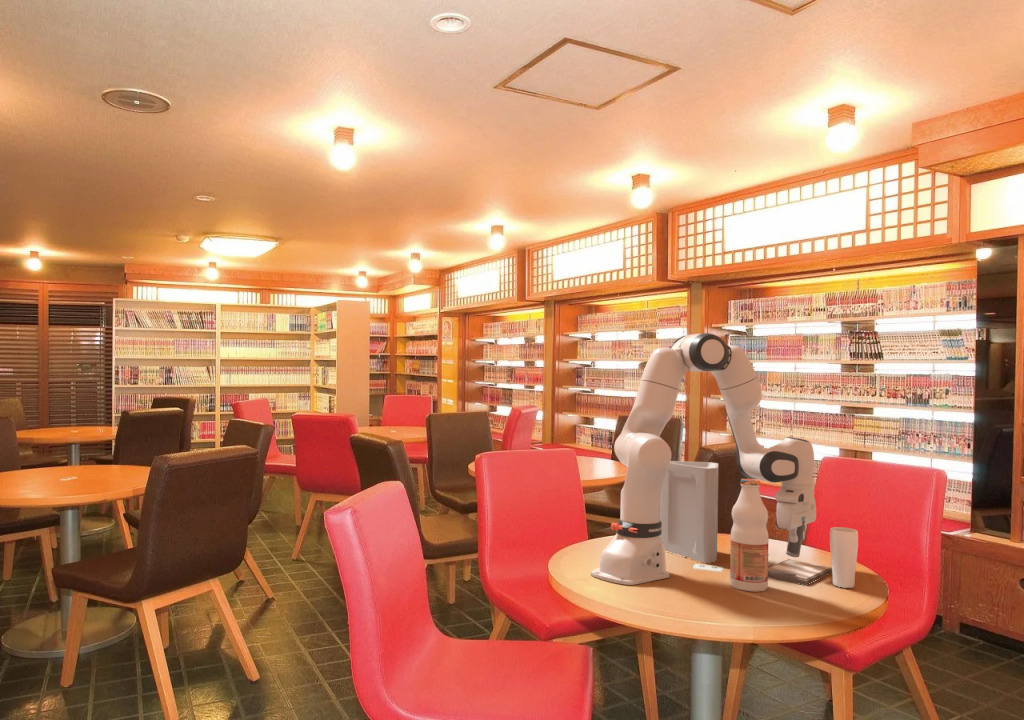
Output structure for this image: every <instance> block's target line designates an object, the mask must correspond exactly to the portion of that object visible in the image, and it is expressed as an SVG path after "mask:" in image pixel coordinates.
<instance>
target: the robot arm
mask: <svg viewBox="0 0 1024 720" xmlns="http://www.w3.org/2000/svg"><path fill="white" fill-rule="evenodd" d="M644 367H645V368H644V369H643V372H642V375H641V378H640V382H639V385H638V388H637V392H636V396H635V400H634V403H633V405H632V408H631V410H630V414H629V416H628V417H627V419H626V420H625V421H626V422H625V423H624V426H623V428H622V431H620V434H619V436H618V437H617V438H616V439H615V441H614V445H613V451H614V454H615V456H616V457H617V459H618V460H619V461H620V463H621V464H622V465H624V466H626V468H627V469H626V475H625V480H624V484H623V486H622V489H621V490H620V512H619V513H620V518H619V519H618V521H617V523H615V522H612V523H611V524H610V529H611V530H612V531H615V532H616V534H615V535H614V537H612V539H611V540H610V541H609V543H608V544H607V546H606V547H604V549H603V550H602V552H601V554H600V560H599V566H598V567H596V568H595V569H593V570H591V571H590V575H591V576H593V577H594V578H596V579H600V580H603V581H606V582H610V583H615V584H620V585H627V586H634V585H638V584H644V583H645V584H646V583H649V582H654V581H657V580H663V579H668V578H670V572H669V571H667V568H666V567H667V566H666V565H667V564H666V563H667V562H666V552H665V548H664V545H663V543H662V541H661V538H660V535H661V534H662V522H661V521H660V508H661V490H662V485H663V480H664V476H665V471H666V468H667V467H668V465H669V464H670V461H672V450H671V447H670V446H669V444H668V443H667V442H666V441H665V440H664V439H663V438H662V437H661V435H662V433H663V431H664V428H665V426H666V425H667V424H668V422H669V421H670V420H671V419H672V417H673V413H674V409H675V406H676V403H677V399H678V395H679V392H680V387H681V383H682V380H683V378H684V376H685V375H686V374H687V372H694V373H704V372H710V373H711V374H712V375H713V377H714V379H715V381H716V383H717V386H718V389H719V392H720V394H721V397H722V400H723V402H724V407H725V412H726V415H727V416H726V417H727V420H728V424H729V426H730V430H731V434H732V437H733V440H734V443H735V447H736V465H737V466H736V467H737V470H739V472H740V474H742V476H743V477H746V479H755V480H759V481H762V482H766V483H767V482H768V483H770V484H771V483H774V484H775V483H781V486H780V488H779V489H778V491H777V492H775V495H774V496H775V501H776V502H777V503H776V524H777V527H778V528H779V529H782V530H787V532H788V536H789V535H790V542H793V543H796V542H798V536H797V533H796V531H797V527H800V526H802V517H804V516H805V523H804V529H803V536H802V541H803V540H805V538H806V531H807V529H808V524H811V523H813V522H816V519H817V505H816V498H815V481H814V471H815V453H814V447H813V445H812V443H811V442H810V441H809V440H806V439H803V438H798V437H792V436H787V437H785V438H784V439H783V440H782V441H781V442H779V443H777V444H776V445H773V446H770V447H764V446H762V445H761V444H760V443H759V441H758V440H757V436H756V433H755V430H754V426H753V423H752V419H751V415H752V413H753V411H754V410H755V409H756V408H757V407H758V406H759V405H760V403H761V400H762V398H763V394H762V387H761V383H760V381H759V379H758V376H757V374H756V372H755V369H754V367H753V365H752V362H751V361H750V359H749V358H748V356H747V353H746V352H745V351H744V349H743V348H742V347H740V346H738V345H735V344H732V345H731V344H729V345H728V344H727V343H726V342H725V341H724V340H723V339H722V338H721V337H719V336H718V335H716V334H714V333H709V332H708V333H707V332H706V333H705V332H703V333H697V332H696V333H691V334H688V335H682V336H680V337H678V339H676V340H674V342H673V343H672V344H671V345H670V346H669V347H658V348H656V349H654V350H653V351H652V352H651V354H650V355H649V358H648V360H647V363H646V365H645V366H644ZM619 461H618V462H619Z"/></svg>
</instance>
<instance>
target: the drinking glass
mask: <svg viewBox="0 0 1024 720" xmlns="http://www.w3.org/2000/svg"><path fill="white" fill-rule="evenodd" d="M829 530H830V531H829V546H830V547H829V550H830V561H831V568H832V573H831V575H832V576H831V577H832V585H833V586H834V585H835V586H834V587H836V586H838V588H840V587H842V588H841V589H846V588H850V589H853V588H855V585H856V584H855V583H856V582H855V580H856V578H855V577H856V570H857V569H856V568H857V561H858V560H857V559H858V549H859V532H858V530H857V529H856V528H855V529H854V528H849V527H842V526H840V527H839V526H834V527H830V529H829Z"/></svg>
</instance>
